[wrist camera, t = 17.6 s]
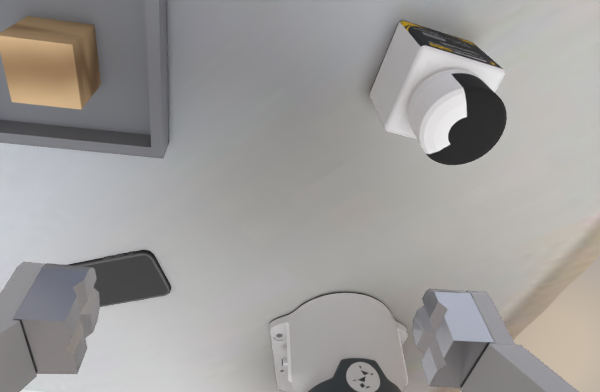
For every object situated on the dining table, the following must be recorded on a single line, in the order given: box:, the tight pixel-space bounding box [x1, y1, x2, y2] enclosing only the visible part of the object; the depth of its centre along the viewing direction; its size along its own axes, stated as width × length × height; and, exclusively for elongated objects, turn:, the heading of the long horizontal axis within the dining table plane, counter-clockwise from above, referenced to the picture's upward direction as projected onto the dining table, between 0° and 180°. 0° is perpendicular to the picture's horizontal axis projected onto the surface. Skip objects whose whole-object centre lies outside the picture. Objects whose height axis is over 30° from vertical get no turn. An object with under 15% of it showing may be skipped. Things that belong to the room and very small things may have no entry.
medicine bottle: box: [370, 21, 507, 165], centre depth 36 cm, size 7×7×12 cm
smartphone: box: [69, 250, 171, 307], centre depth 54 cm, size 7×1×15 cm
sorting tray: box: [0, 0, 169, 158], centre depth 37 cm, size 16×16×3 cm
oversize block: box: [0, 16, 101, 110], centre depth 35 cm, size 5×5×5 cm
